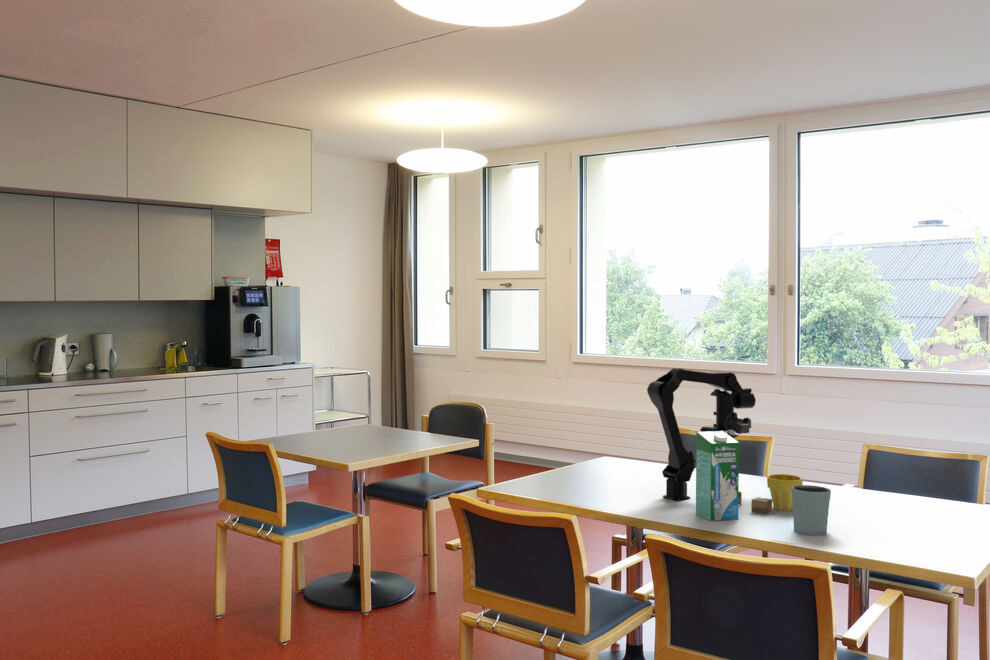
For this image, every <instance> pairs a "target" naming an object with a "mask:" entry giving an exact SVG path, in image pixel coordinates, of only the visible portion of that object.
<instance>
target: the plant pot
mask: <svg viewBox="0 0 990 660" xmlns="http://www.w3.org/2000/svg"><path fill="white" fill-rule="evenodd" d="M766 477H767V478H766V479H767V480H766V481H767V488H768V489H769V491H770V492H769V493H770V496H771V499H772V508H774V509H775V508H776V510H778V509H781V510H780V511H793V502H792V486H796V485H804V484H803V481H804V480H803V477H802V476H799V475H794V474H788V473H774V474H769V475H767V476H766Z"/></svg>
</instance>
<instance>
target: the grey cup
mask: <svg viewBox="0 0 990 660" xmlns="http://www.w3.org/2000/svg"><path fill="white" fill-rule="evenodd" d="M831 493H832V490H831V489H830V488H828V487H824V486H818V485H810V484H809V485H807V484H803V485H796V486H792V502H793V510H792V517H793V530H794V532H795V533H798V534H800V535H806V536H824V535H826V534H827V532H828V522H829V521H828V518H829V511H830V510H829V509H830V500H831Z"/></svg>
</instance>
